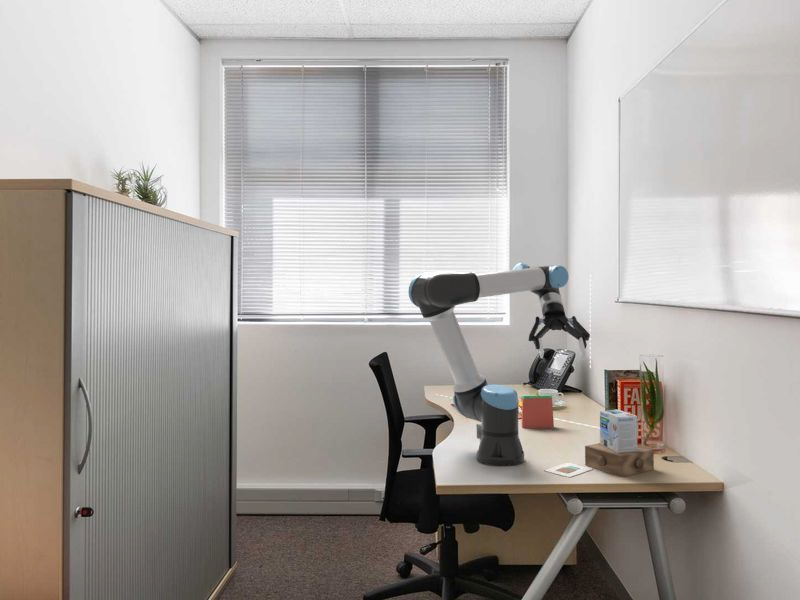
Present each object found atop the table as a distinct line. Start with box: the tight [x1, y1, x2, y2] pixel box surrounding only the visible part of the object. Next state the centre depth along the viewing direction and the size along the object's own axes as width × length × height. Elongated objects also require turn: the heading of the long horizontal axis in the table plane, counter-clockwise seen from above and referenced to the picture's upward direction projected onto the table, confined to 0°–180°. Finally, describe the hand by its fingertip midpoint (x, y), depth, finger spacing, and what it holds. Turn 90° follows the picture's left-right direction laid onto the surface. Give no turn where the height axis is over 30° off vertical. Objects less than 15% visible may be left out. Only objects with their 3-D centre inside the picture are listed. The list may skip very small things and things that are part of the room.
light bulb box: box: [599, 409, 638, 453], centre depth 186 cm, size 11×7×11 cm, turn 12°
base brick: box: [584, 442, 655, 478], centre depth 186 cm, size 15×15×6 cm
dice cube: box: [476, 423, 482, 440], centre depth 226 cm, size 5×5×5 cm
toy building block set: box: [518, 392, 555, 429], centre depth 259 cm, size 12×35×14 cm, turn 0°
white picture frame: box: [543, 462, 594, 479], centre depth 184 cm, size 12×9×1 cm
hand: (563, 355), depth 200 cm, fingers open, 13 cm apart
